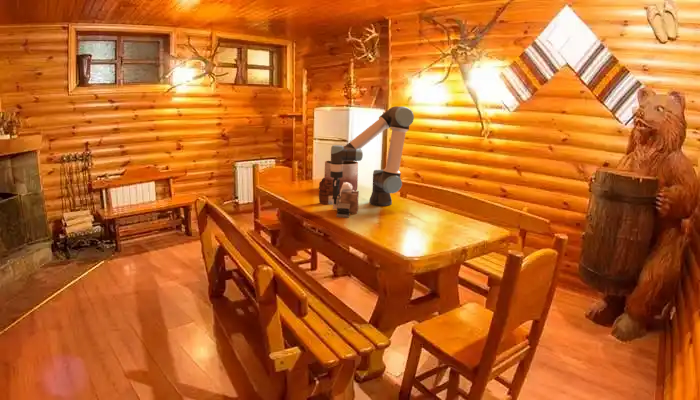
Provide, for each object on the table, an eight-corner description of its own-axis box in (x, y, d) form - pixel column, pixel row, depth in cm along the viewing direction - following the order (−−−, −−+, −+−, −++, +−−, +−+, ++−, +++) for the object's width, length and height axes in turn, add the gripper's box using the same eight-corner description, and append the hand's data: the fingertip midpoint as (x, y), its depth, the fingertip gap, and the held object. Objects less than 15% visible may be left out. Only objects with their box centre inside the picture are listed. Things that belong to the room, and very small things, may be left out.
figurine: (343, 201, 296) (343, 184, 293) (336, 198, 304) (337, 181, 302) (356, 200, 300) (356, 183, 298) (349, 197, 309) (350, 180, 306)
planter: (350, 195, 315) (351, 165, 311) (318, 192, 324) (319, 162, 319) (361, 189, 339) (362, 161, 334) (332, 186, 347) (332, 159, 342)
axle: (358, 204, 271) (358, 195, 269) (357, 206, 265) (357, 197, 264) (329, 203, 272) (329, 194, 271) (328, 205, 267) (328, 196, 265)
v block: (350, 213, 263) (350, 203, 262) (348, 217, 254) (348, 207, 252) (338, 213, 264) (338, 202, 262) (336, 217, 254) (336, 206, 253)
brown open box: (358, 209, 273) (358, 189, 271) (356, 213, 264) (357, 192, 261) (342, 209, 274) (342, 188, 272) (340, 212, 265) (340, 192, 262)
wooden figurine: (321, 204, 284) (322, 177, 280) (318, 202, 289) (318, 176, 285) (338, 203, 289) (338, 176, 285) (334, 201, 294) (334, 175, 291)
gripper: (332, 168, 274) (331, 204, 279) (328, 172, 256) (327, 211, 261) (344, 168, 273) (343, 204, 278) (341, 173, 255) (340, 211, 260)
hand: (335, 207), depth 269 cm, fingers closed on axle, 5 cm apart
